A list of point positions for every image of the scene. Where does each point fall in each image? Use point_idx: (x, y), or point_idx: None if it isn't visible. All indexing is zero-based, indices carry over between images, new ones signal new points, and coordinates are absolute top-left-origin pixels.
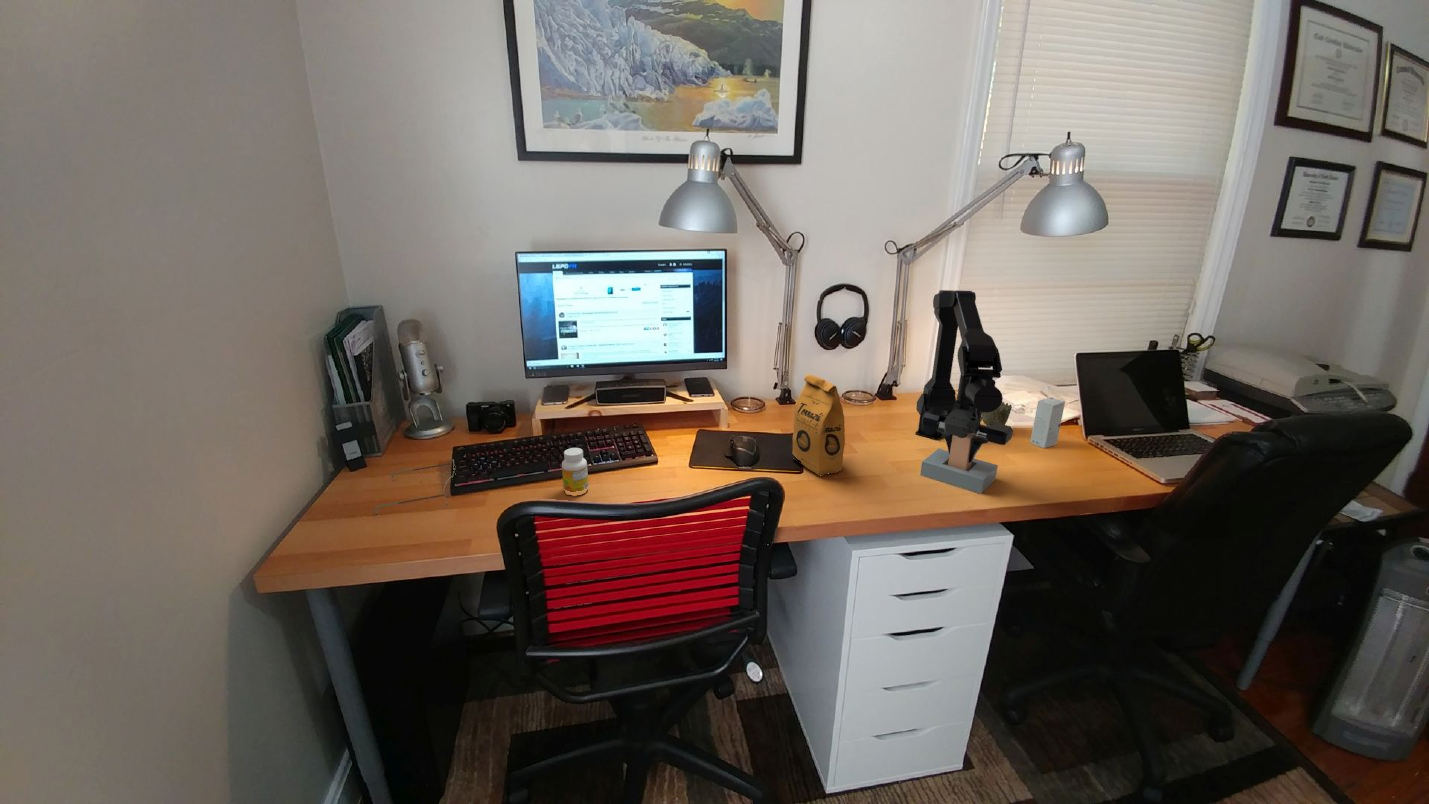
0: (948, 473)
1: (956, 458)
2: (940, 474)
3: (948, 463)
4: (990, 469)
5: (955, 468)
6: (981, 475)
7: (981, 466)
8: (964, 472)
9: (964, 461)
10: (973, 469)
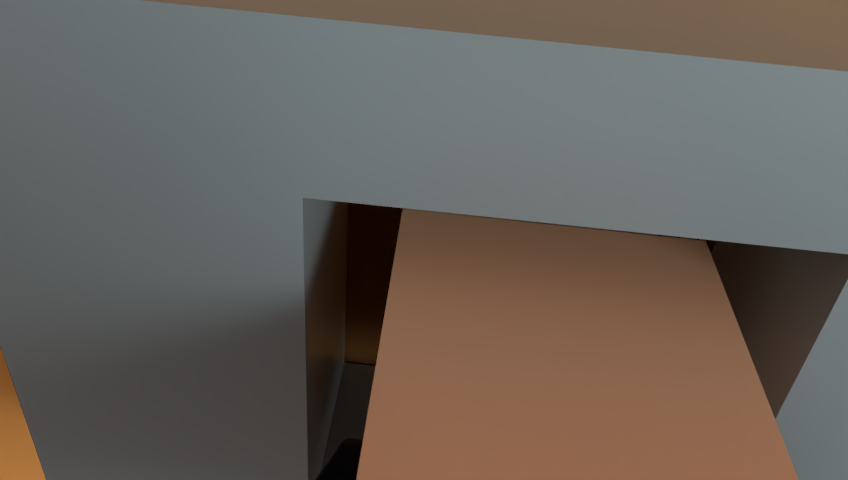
0: (672, 15)
1: (612, 429)
2: (814, 8)
3: (730, 322)
4: (69, 436)
5: (565, 191)
6: (35, 167)
7: (213, 460)
8: (348, 109)
9: (421, 394)
10: (262, 320)
